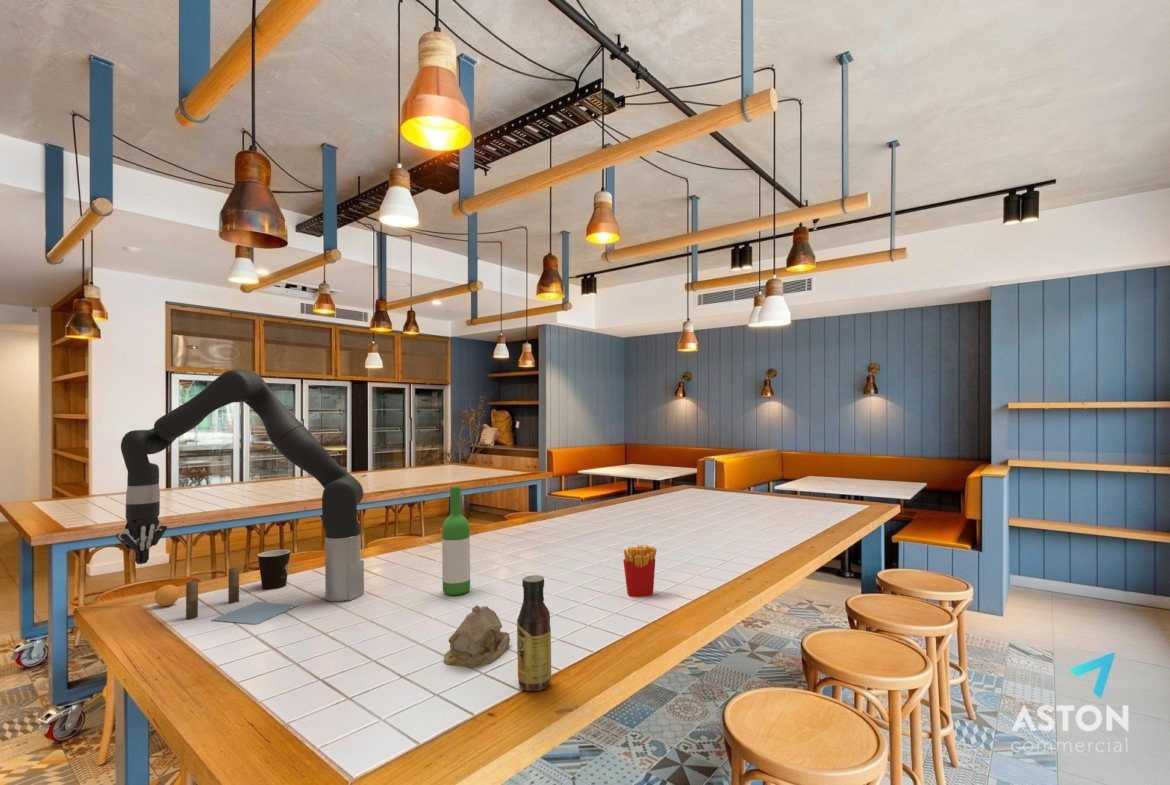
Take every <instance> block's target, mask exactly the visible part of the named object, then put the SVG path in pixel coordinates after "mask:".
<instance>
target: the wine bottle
mask: <svg viewBox="0 0 1170 785" xmlns="http://www.w3.org/2000/svg"><path fill="white" fill-rule="evenodd" d="M461 491H462V490H461V486H459V485H454V486H453V485H452V486H450V488H449V505H450V506H449V508H450V509H449V510H450V511H449V516H448V517H447V518H445V520H444V521H443V523H442V527H441V547H442V548H441V549H442V551H441V552H442V553H441V558H442V559H441V560H442V561H441V562H442V565H441V566H442V567H441V568H442V570H441V571H442V577H441V578H442V591H443V593H444V594H445V595H447V596H461V595H464V594H466V593H467V594H468V592H469V591H470V589H471V538H470V537H471V535H470V533H471V532H470V523H469V521H468V519H467V518H466V517H465V516H464V515H463V514H462V501H461V500H462V498H461V497H462V494H461Z"/></svg>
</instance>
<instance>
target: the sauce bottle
mask: <svg viewBox="0 0 1170 785" xmlns="http://www.w3.org/2000/svg"><path fill="white" fill-rule="evenodd" d="M544 577H545V576H543V575H539V574H538V575H537V574H532V575H526V576H524V577H523V578H522V583H521V584H522V588H523V589H522V590H523V592H522V593H523V599H522V604H521V608H520V611H519V615H518V617H517V621H516V636H517V637H516V640H517V641H516V646H517V648H516V649H517V651H516V652H517V679H518V680H517V681H518V686H519V687H520V688H521V689H522V690H523V691H526V692H537V691H539V692H540V691H544V690H546V689H547V688H548V687H549V686H550V685H551V681H552V634H551V633H552V632H551V631H552V629H551V614H550V611H549V609H548V606H546V603H545V602H544V601H545V598H544V587H545V578H544Z"/></svg>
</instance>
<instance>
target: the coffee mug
mask: <svg viewBox="0 0 1170 785" xmlns="http://www.w3.org/2000/svg"><path fill="white" fill-rule="evenodd" d="M290 557H291V550H290V549H275V550H268V551H264V552H263V551H262V552H261V553H258V554H257V559H258V566H259V574H260V580H261V588H262V590H267V591H268V590H278V589H281V588H283V587H287V580H288V572H289V564H290V559H291V558H290Z"/></svg>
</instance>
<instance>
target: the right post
mask: <svg viewBox="0 0 1170 785" xmlns="http://www.w3.org/2000/svg"><path fill="white" fill-rule="evenodd" d="M227 575H228V594H227V596H228V597H227V598H228V599H227V601H228V602H229V603H228V602H227V603H228V604H235V603H234V602H236V603H238V602H239V601H240V568H239V567H233V568H232V567H231V568H229V569H228V574H227Z"/></svg>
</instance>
